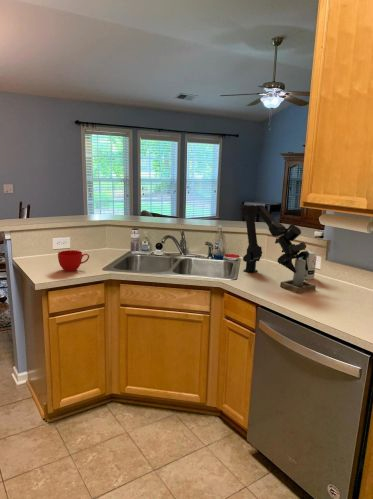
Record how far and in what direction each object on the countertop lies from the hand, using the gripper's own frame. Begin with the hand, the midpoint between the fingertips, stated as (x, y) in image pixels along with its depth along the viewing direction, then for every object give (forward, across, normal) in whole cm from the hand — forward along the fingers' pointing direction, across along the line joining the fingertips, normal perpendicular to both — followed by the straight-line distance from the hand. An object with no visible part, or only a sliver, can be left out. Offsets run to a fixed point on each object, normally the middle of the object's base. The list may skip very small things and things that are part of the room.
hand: (301, 271), depth 185 cm
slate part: (+5, 0, +7) cm, 9 cm away
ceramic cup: (-53, -90, +67) cm, 124 cm away
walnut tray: (+6, 0, +8) cm, 9 cm away
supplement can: (-1, +20, +15) cm, 25 cm away
